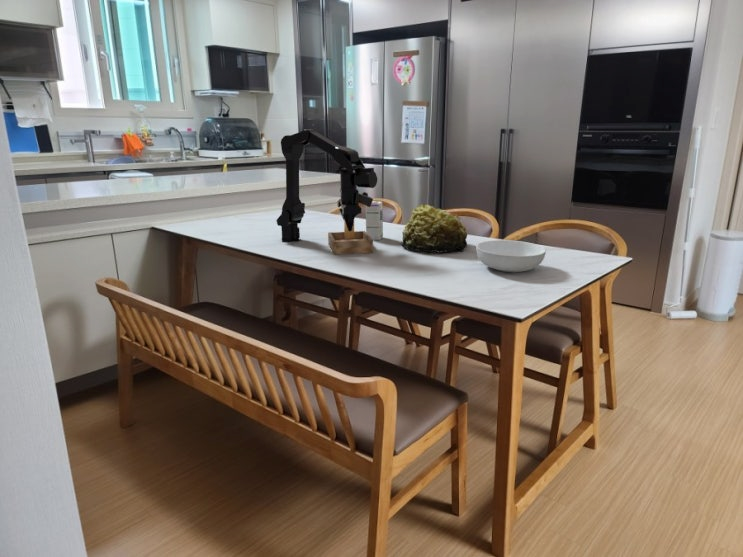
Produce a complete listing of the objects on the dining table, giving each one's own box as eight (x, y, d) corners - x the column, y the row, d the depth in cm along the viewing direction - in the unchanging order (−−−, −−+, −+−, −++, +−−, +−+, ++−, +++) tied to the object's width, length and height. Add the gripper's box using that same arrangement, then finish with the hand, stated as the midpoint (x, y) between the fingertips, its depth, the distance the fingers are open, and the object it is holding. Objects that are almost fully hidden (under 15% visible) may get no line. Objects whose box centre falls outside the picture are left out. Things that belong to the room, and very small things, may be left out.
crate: (333, 254, 178) (333, 242, 177) (328, 244, 194) (328, 232, 193) (372, 252, 180) (372, 240, 179) (364, 242, 197) (364, 230, 195)
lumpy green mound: (390, 243, 196) (390, 202, 192) (445, 237, 205) (447, 198, 200) (419, 258, 174) (420, 212, 169) (480, 251, 182) (483, 207, 178)
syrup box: (380, 240, 200) (380, 203, 196) (365, 239, 201) (365, 202, 197) (383, 237, 206) (383, 201, 201) (368, 236, 207) (368, 200, 203)
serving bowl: (502, 281, 147) (504, 258, 145) (462, 264, 165) (463, 243, 163) (559, 273, 155) (561, 251, 153) (514, 257, 173) (516, 237, 171)
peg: (345, 239, 184) (344, 214, 182) (343, 237, 188) (343, 212, 185) (355, 238, 185) (354, 214, 182) (353, 236, 188) (353, 212, 186)
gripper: (376, 188, 173) (376, 234, 178) (366, 183, 191) (366, 224, 196) (343, 189, 172) (344, 235, 176) (336, 183, 189) (337, 225, 194)
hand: (349, 229), depth 185 cm, fingers closed on peg, 4 cm apart
